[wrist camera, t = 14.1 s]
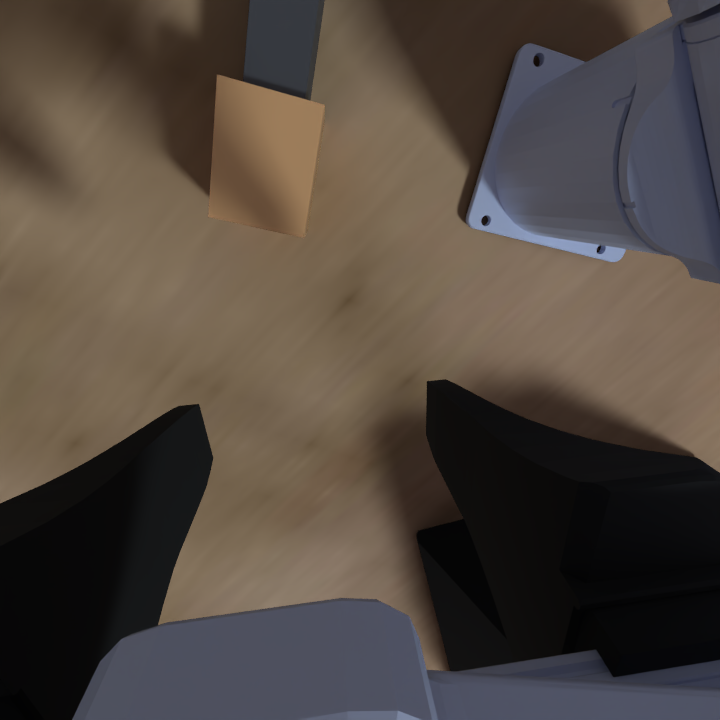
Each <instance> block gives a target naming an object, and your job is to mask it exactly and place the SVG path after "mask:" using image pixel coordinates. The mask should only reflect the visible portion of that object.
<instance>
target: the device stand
mask: <svg viewBox="0 0 720 720" xmlns="http://www.w3.org/2000/svg"><path fill="white" fill-rule="evenodd" d="M417 541H418V545H419V549H420V553H421V557H422V561H423V565H424V569H425V573H426V576H427V580H428V584H429V588H430V592H431V596H432V600H433V604H434V608H435V612H436V616H437V620H438V624H439V627H440V631H441V635H442V639H443V643H444V647H445V651H446V655H447V659H448V663H449V667H450V671H454V672H457V671H463V670H470V669H476V668H482V667H489V666H495V665H501V664H507V663H514V660H513V657H512V654H511V650H510V647H509V644H508V641H507V638H506V635H505V632H504V629H503V626H502V623H501V620H500V617H499V613H498V610H497V607H496V604H495V601H494V598H493V595H492V593H491V590H490V587H489V584H488V581H487V578H486V576H485V573H484V570H483V567H482V564H481V561H480V559H479V556H478V553H477V551H476V548H475V545H474V543H473V540H472V537H471V535H470V532H469V530H468V527H467V525H466V523H465V521H464V519H462V520H458V521H454V522H451V523H447V524H443V525H439V526H435V527H431V528H427V529H423V530H420V531H418V532H417Z"/></svg>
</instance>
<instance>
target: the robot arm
mask: <svg viewBox="0 0 720 720" xmlns="http://www.w3.org/2000/svg"><path fill="white" fill-rule="evenodd" d="M668 4H669V7H670V10H671V13H672V17H670V18H668V19H666V20H664V21H662V22H661V23H659V24H657V25H655V26H653V27H651V28H649V29H647V30H646V31H644V32H642V33H640V34H638V35H636V36H634V37H632V38H631V39H629V40H627V41H625V42H623V43H621V44H619V45H617V46H615V47H614V48H612V49H610V50H608V51H606V52H604V53H602V54H600V55H599V56H597V57H595V58H593V59H591V60H589V61H587V62H585V61H582V60H579V59H576V58H573V57H571V56H568V55H565V54H562V53H559V52H556V51H553V50H550V49H547V48H545V47H542V46H539V45H536V44H533V43H528V44H525V45H524V46H522V47H521V48H520V49H519V50H518V51H517V53H516V56H515V59H514V62H513V65H512V68H511V72H510V75H509V78H508V81H507V85H506V88H505V91H504V94H503V98H502V101H501V104H500V107H499V111H498V114H497V117H496V121H495V124H494V127H493V130H492V134H491V137H490V140H489V143H488V147H487V150H486V153H485V156H484V160H483V163H482V166H481V169H480V173H479V176H478V179H477V182H476V186H475V189H474V192H473V195H472V199H471V202H470V205H469V208H468V212H467V215H466V223H467V225H468V226H469V227H471V228H474V229H478V230H482V231H486V232H490V233H494V234H498V235H502V236H507V237H511V238H515V239H519V240H523V241H527V242H531V243H535V244H539V245H543V246H548V247H552V248H556V249H560V250H564V251H568V252H572V253H576V254H580V255H584V256H589V257H593V258H597V259H601V260H605V261H609V262H616V261H619V260H620V259H621V258H622V256H623V255H624V253H625V251H626V249H629V250H636V251H642V252H649V253H655V254H662V255H668V256H673V257H675V258H677V259H679V260H680V261H681V262H683V263H684V265H685V266H686V267H687V269H688V271H689V274H690V276H691V278H695V279H699V280H704V281H709V282H714V283H719V284H720V0H668ZM534 56H537V57H539V60H540V64H539V66H538V67H536V66H535V65H534V63H533V58H534ZM485 215H486V216H487V218H488V222H487V224H485V225H484V226H483V225H482V223H481V219H482V218H483V217H484V216H485ZM599 245H600V246H601V249H600V251H599V252H598V253H597V248H598V246H599ZM426 436H427V439H428V442H429V445H430V448H431V451H432V454H433V457H434V460H435V462H436V464H437V466H438V468H439V470H440V472H441V474H442V476H443V478H444V480H445V482H446V484H447V486H448V488H449V490H450V492H451V494H452V496H453V498H454V500H455V502H456V504H457V506H458V508H459V510H460V512H461V514H462V516H463V518H464V521H465V523H466V525H467V527H468V530H469V532H470V535H471V537H472V540H473V543H474V545H475V548H476V551H477V553H478V556H479V559H480V561H481V564H482V567H483V570H484V573H485V576H486V578H487V581H488V584H489V587H490V590H491V593H492V595H493V598H494V601H495V604H496V607H497V610H498V613H499V617H500V620H501V623H502V626H503V629H504V632H505V635H506V638H507V641H508V644H509V647H510V650H511V654H512V657H513V660H514V663H507V664H501V665H495V666H489V667H482V668H476V669H470V670H463V671H457V672H454V671H438V670H426V666H425V662H424V658H423V653H422V649H421V645H420V640H419V637H418V635H417V633H416V630H415V628H414V626H413V624H412V621H411V619H410V617H409V616H408V615H406V614H404V613H402V612H400V611H398V610H396V609H394V608H392V607H390V606H388V605H386V604H384V603H382V602H380V601H379V600H377V599H354V598H338V599H331V600H324V601H317V602H310V603H302V604H295V605H288V606H281V607H274V608H267V609H260V610H253V611H246V612H239V613H231V614H224V615H217V616H210V617H203V618H196V619H189V620H182V621H175V622H167V623H164V624H161V625H158V622H159V619H160V615H161V611H162V607H163V604H164V600H165V597H166V593H167V590H168V587H169V583H170V580H171V576H172V573H173V570H174V567H175V564H176V561H177V558H178V556H179V553H180V550H181V548H182V546H183V543H184V541H185V538H186V536H187V533H188V531H189V529H190V526H191V524H192V521H193V519H194V516H195V514H196V512H197V509H198V507H199V504H200V502H201V499H202V497H203V494H204V491H205V489H206V486H207V482H208V478H209V475H210V470H211V466H212V461H213V455H212V452H211V448H210V444H209V440H208V436H207V433H206V429H205V425H204V421H203V418H202V414H201V410H200V406H199V404H195V405H185V406H178V407H176V408H174V409H172V410H170V411H168V412H167V413H165V414H163V415H162V416H160V417H159V418H157V419H155V420H154V421H152V422H151V423H149V424H148V425H146V426H144V427H143V428H141V429H140V430H138V431H137V432H135V433H134V434H132V435H131V436H129V437H127V438H126V439H124V440H123V441H121V442H119V443H118V444H116V445H114V446H113V447H111V448H109V449H108V450H106V451H104V452H103V453H101V454H99V455H98V456H96V457H94V458H93V459H91V460H89V461H88V462H86V463H84V464H82V465H80V466H78V467H77V468H75V469H73V470H71V471H69V472H67V473H65V474H63V475H61V476H59V477H57V478H55V479H53V480H51V481H49V482H47V483H45V484H43V485H41V486H39V487H37V488H34V489H32V490H30V491H28V492H25V493H23V494H21V495H19V496H16V497H14V498H12V499H10V500H7V501H5V502H3V503H0V720H720V473H719V472H718V471H716V470H715V469H713V468H712V467H710V466H709V465H707V464H706V463H704V462H703V461H701V460H700V459H698V458H696V457H689V456H682V455H675V454H668V453H661V452H654V451H646V450H640V449H635V448H630V447H625V446H620V445H615V444H610V443H605V442H601V441H597V440H592V439H588V438H585V437H581V436H577V435H574V434H570V433H567V432H563V431H560V430H557V429H554V428H551V427H548V426H545V425H542V424H539V423H537V422H534V421H531V420H529V419H526V418H524V417H521V416H519V415H516V414H514V413H512V412H510V411H508V410H505V409H503V408H501V407H499V406H497V405H495V404H493V403H491V402H489V401H487V400H485V399H483V398H481V397H479V396H477V395H475V394H473V393H472V392H470V391H468V390H466V389H464V388H462V387H460V386H458V385H457V384H455V383H453V382H450V381H448V380H435V381H427V411H426Z"/></svg>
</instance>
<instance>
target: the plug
mask: <svg viewBox="0 0 720 720" xmlns="http://www.w3.org/2000/svg"><path fill="white" fill-rule="evenodd" d="M324 1H325V0H250V4H249V16H248V28H247V40H246V52H245V64H244V76H243V82H242V81H239V80H235V79H232V78H228V77H225V76H221V75H218V74H217V84H216V100H215V116H214V132H213V148H212V165H211V181H210V197H209V213H208V217H210V218H215V219H219V220H224V221H228V222H233V223H238V224H242V225H247V226H251V227H256V228H260V229H265V230H269V231H274V232H278V233H283V234H288V235H292V236H297V237H301V238H304V237H305V235H306V233H307V231H308V224H309V218H310V212H311V205H312V199H313V193H314V186H315V180H316V174H317V167H318V161H319V155H320V148H321V142H322V136H323V129H324V121H325V105H323V104H320V103H316V102H313V101H310V99H311V92H312V85H313V78H314V71H315V64H316V57H317V50H318V43H319V36H320V29H321V22H322V15H323V8H324Z"/></svg>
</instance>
